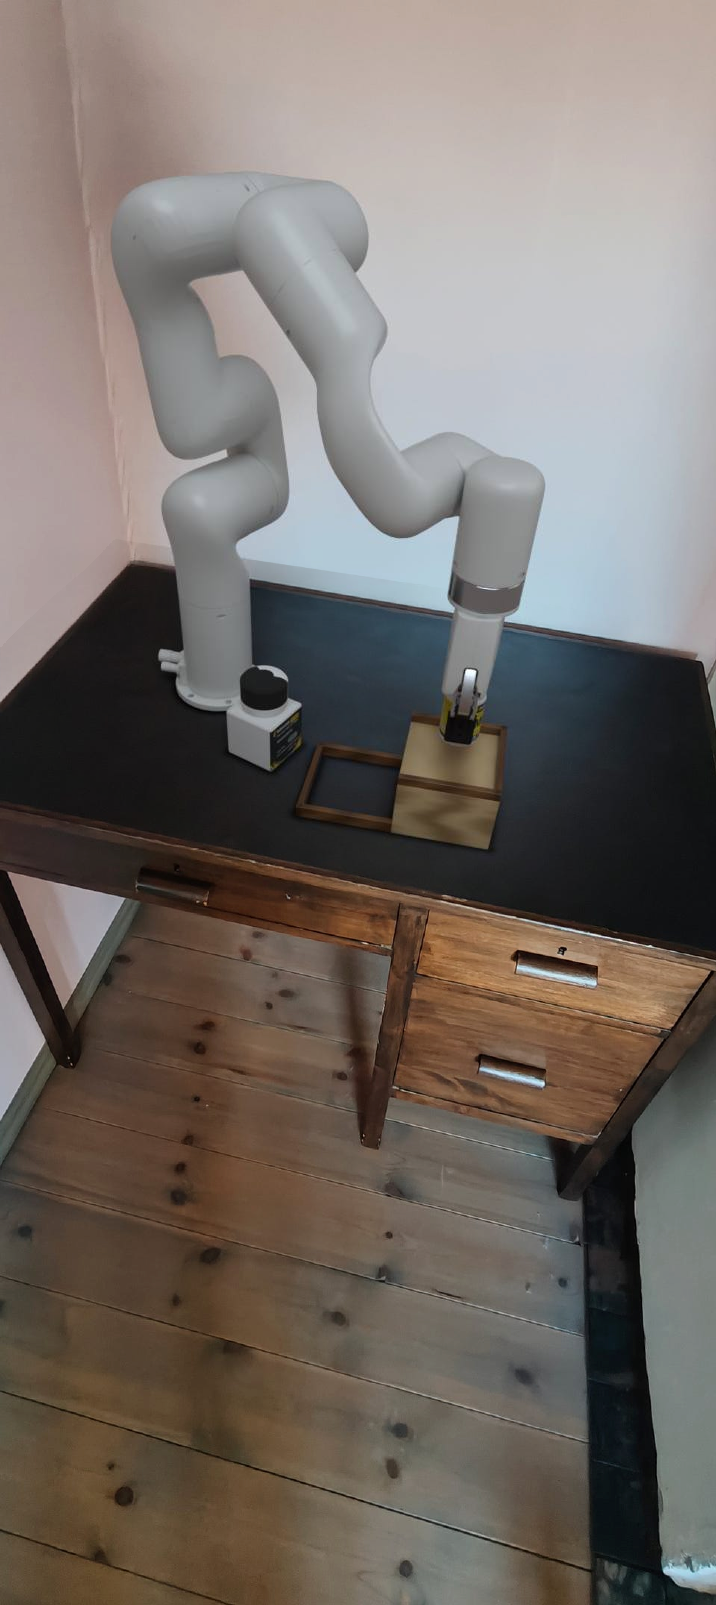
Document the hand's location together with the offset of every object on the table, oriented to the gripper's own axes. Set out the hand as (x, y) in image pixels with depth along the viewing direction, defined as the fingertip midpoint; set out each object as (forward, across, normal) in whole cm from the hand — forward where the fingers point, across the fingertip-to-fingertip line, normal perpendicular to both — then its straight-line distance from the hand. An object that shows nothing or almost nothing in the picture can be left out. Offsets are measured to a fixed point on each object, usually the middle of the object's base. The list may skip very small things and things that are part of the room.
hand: (459, 725), depth 97 cm
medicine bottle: (+13, -5, -25) cm, 29 cm away
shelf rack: (+13, 0, -6) cm, 14 cm away
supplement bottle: (+2, 0, 0) cm, 2 cm away
